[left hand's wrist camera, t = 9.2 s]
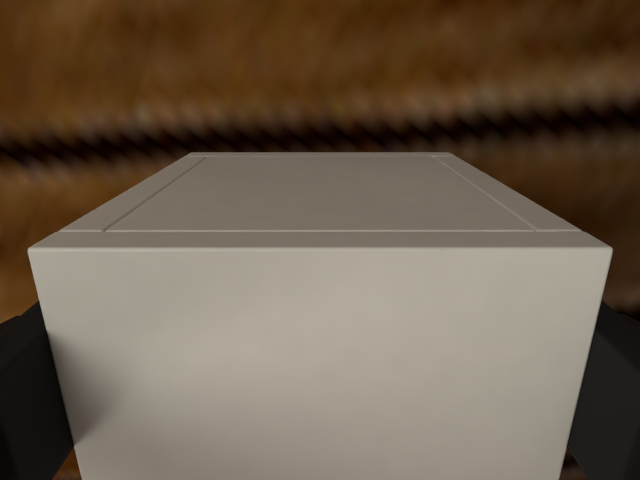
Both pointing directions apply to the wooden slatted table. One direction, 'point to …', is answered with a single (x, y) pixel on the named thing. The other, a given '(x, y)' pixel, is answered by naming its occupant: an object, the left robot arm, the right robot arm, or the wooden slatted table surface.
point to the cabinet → (320, 322)
